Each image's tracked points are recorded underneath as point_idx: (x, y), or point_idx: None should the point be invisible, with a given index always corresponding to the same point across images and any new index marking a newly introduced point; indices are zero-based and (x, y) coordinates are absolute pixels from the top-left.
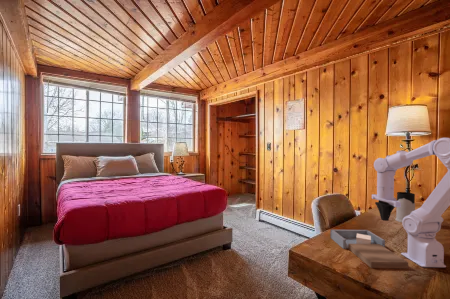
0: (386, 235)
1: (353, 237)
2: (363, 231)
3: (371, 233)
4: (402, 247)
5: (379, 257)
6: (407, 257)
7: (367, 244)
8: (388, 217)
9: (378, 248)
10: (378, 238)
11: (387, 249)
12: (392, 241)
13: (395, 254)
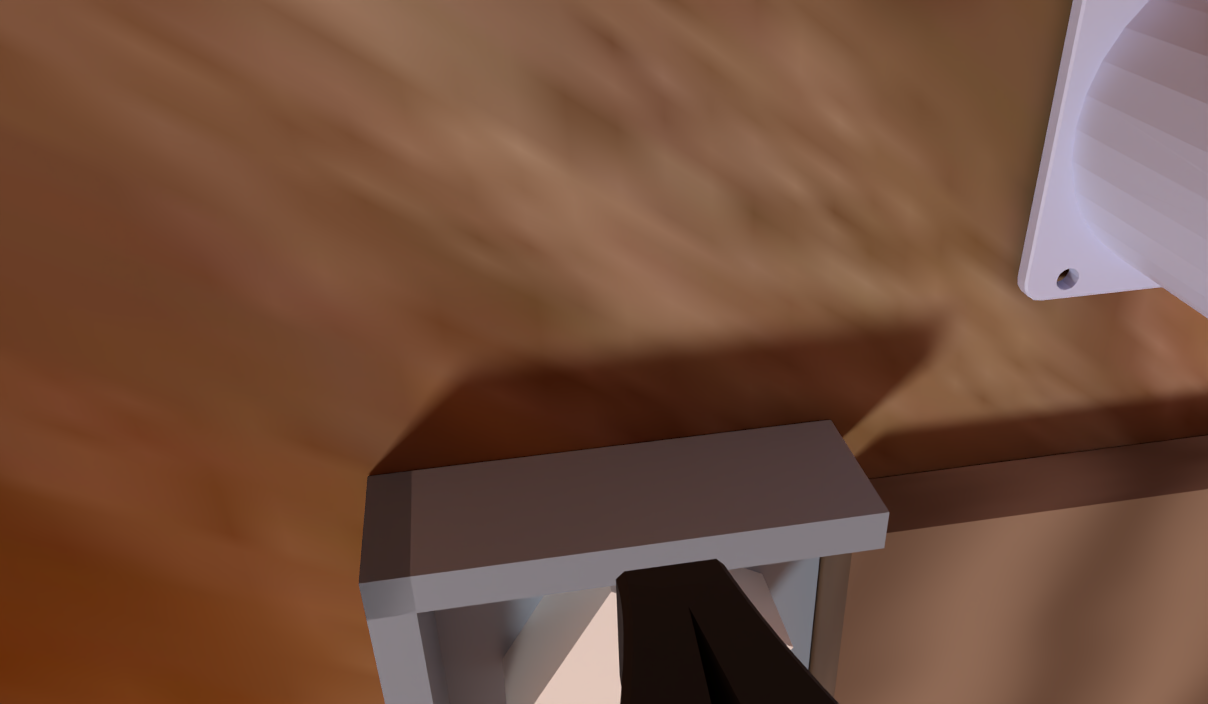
0: (73, 6)
1: (446, 686)
2: (426, 648)
3: (567, 587)
4: (770, 83)
5: (1200, 683)
6: (1151, 284)
7: (854, 680)
8: (761, 641)
9: (992, 608)
10: (783, 556)
11: (1041, 521)
12: (475, 95)
13: (1190, 498)
